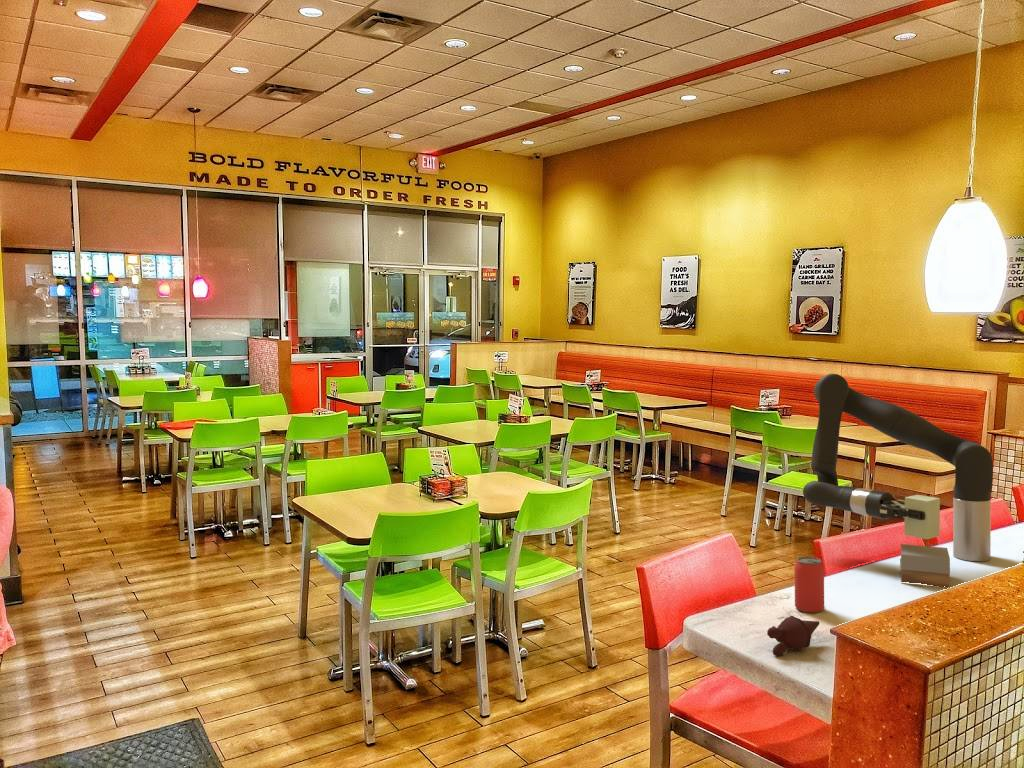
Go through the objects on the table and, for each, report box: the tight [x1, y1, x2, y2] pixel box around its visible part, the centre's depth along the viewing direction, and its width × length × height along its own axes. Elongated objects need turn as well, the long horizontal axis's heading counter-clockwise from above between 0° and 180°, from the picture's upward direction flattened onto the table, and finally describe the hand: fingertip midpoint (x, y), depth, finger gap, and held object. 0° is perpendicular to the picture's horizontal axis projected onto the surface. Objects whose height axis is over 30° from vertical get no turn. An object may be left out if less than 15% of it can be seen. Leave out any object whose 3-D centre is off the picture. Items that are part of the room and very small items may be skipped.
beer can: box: [793, 556, 825, 614], centre depth 182 cm, size 7×7×12 cm
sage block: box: [903, 494, 941, 540], centre depth 201 cm, size 6×6×10 cm
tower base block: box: [899, 558, 951, 589], centre depth 201 cm, size 11×11×4 cm
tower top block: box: [900, 543, 951, 574], centre depth 201 cm, size 11×11×4 cm
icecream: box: [767, 615, 821, 657], centre depth 159 cm, size 7×7×15 cm
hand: (931, 514), depth 199 cm, fingers closed on sage block, 6 cm apart
